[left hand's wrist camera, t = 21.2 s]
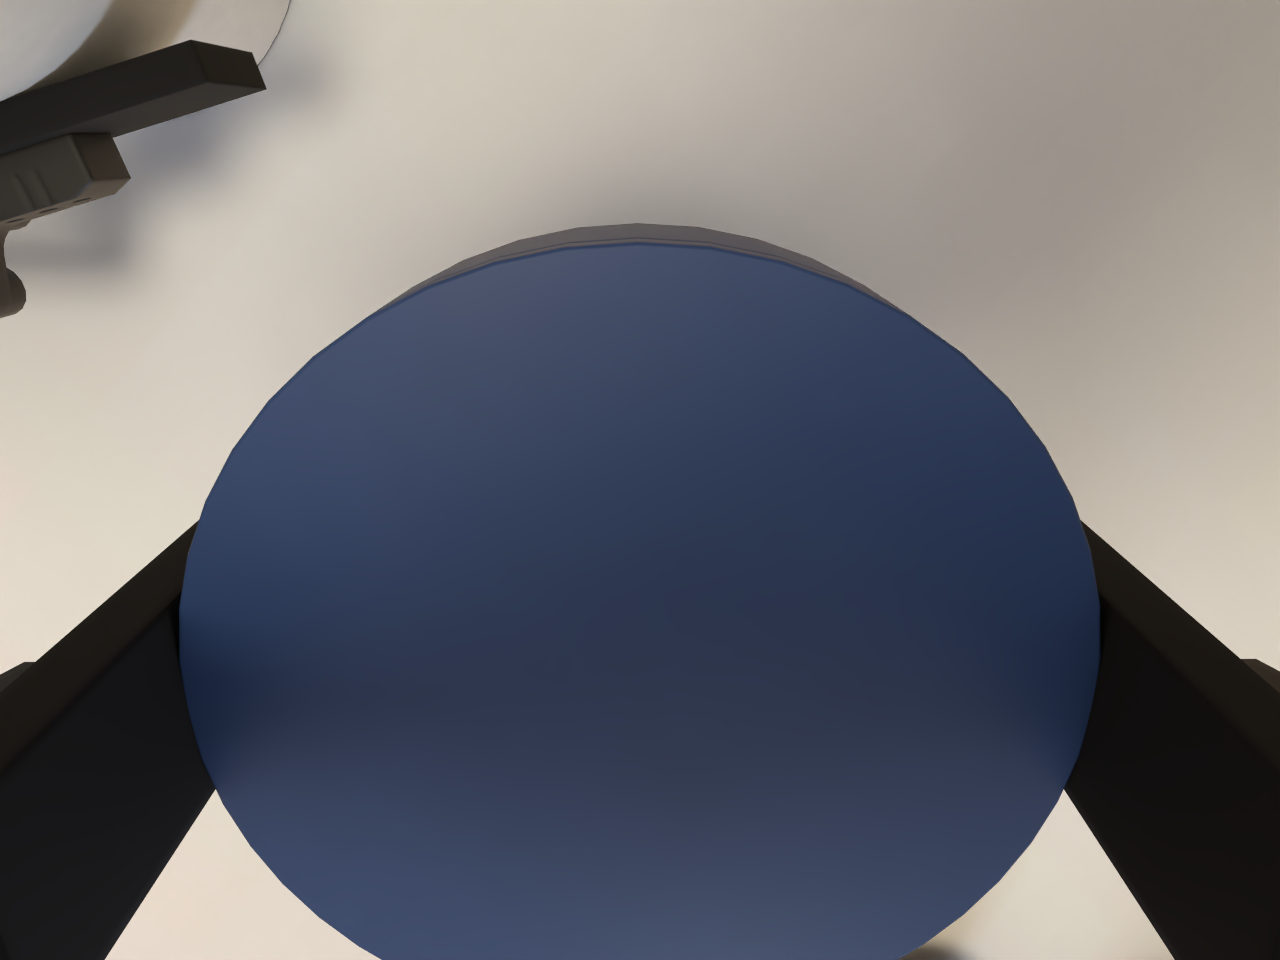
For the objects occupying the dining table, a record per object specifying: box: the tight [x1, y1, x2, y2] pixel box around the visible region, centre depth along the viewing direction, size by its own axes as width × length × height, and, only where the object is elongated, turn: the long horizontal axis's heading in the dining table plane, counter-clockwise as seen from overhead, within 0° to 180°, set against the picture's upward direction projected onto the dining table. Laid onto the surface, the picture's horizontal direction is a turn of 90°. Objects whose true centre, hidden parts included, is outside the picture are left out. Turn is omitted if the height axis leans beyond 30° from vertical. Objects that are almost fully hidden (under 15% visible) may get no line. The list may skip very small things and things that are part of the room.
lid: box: [179, 223, 1101, 960], centre depth 11 cm, size 11×11×2 cm
